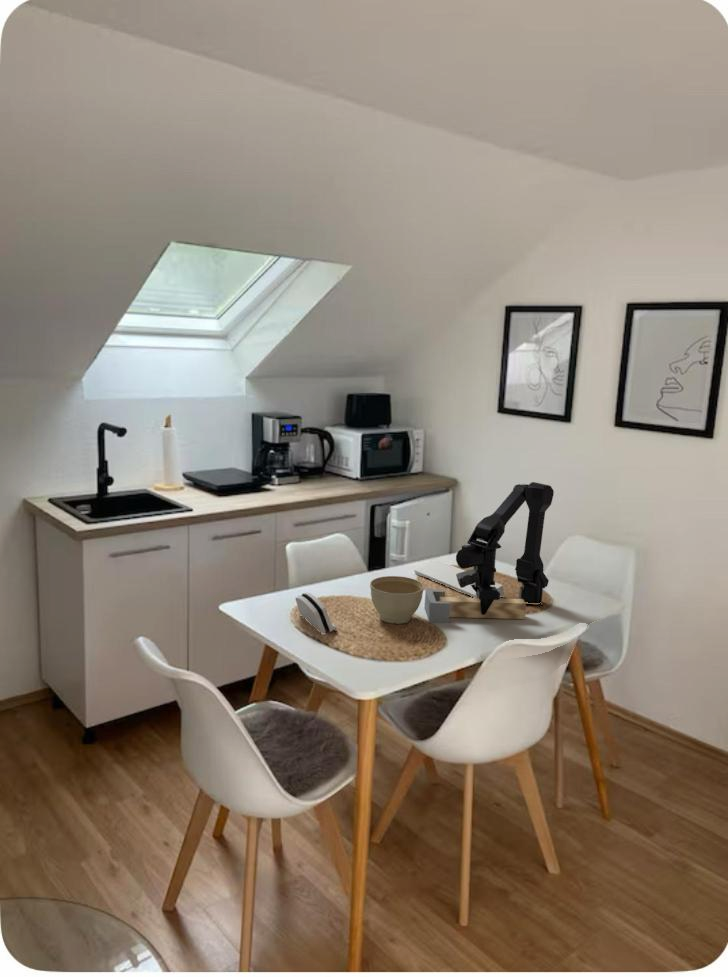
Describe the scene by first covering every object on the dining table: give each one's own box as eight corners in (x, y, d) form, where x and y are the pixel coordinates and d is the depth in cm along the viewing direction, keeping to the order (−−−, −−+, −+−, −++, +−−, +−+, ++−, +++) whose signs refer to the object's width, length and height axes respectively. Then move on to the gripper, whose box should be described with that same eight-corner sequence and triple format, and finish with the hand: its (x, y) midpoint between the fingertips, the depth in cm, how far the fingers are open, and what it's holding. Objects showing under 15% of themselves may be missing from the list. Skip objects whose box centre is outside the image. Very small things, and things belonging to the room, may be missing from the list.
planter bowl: (360, 623, 222) (362, 588, 220) (378, 606, 237) (380, 573, 235) (413, 632, 217) (415, 596, 214) (428, 614, 231) (430, 580, 229)
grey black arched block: (338, 632, 214) (329, 602, 211) (324, 640, 212) (314, 610, 209) (315, 612, 229) (305, 584, 225) (301, 619, 227) (291, 591, 223)
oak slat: (521, 614, 234) (522, 599, 233) (524, 618, 230) (526, 603, 229) (438, 612, 233) (439, 596, 232) (440, 616, 229) (441, 601, 228)
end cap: (443, 608, 237) (444, 590, 236) (448, 622, 225) (450, 603, 224) (424, 607, 237) (425, 589, 236) (429, 621, 225) (430, 602, 224)
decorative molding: (483, 610, 245) (504, 597, 251) (481, 597, 244) (502, 585, 249) (415, 581, 272) (436, 570, 277) (413, 569, 271) (434, 559, 276)
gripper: (454, 553, 237) (451, 600, 240) (464, 572, 219) (460, 622, 222) (489, 555, 238) (485, 601, 241) (502, 573, 219) (498, 623, 223)
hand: (481, 611), depth 232 cm, fingers closed on oak slat, 4 cm apart
